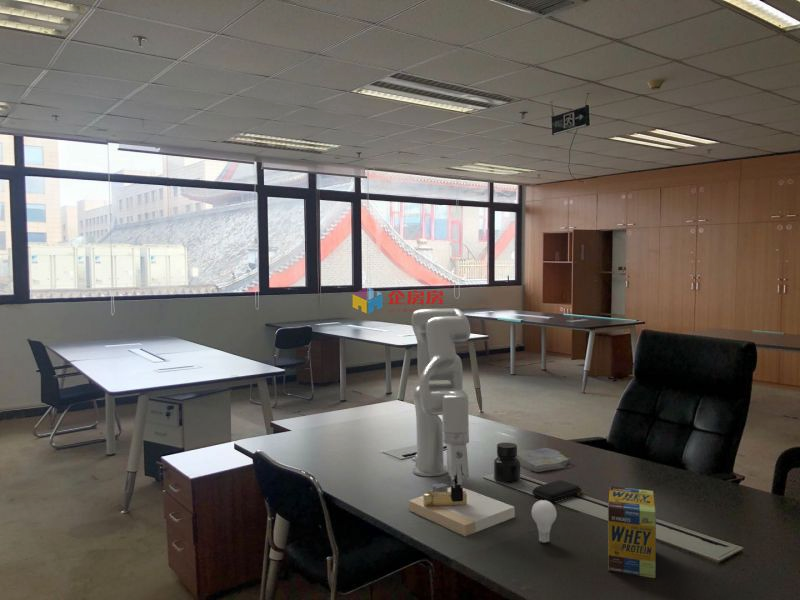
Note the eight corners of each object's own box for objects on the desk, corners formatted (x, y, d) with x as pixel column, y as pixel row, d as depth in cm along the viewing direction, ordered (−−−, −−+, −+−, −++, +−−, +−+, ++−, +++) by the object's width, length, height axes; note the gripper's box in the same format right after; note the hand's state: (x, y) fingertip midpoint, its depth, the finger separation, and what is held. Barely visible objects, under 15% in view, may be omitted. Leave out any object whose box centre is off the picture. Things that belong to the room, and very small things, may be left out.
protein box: (607, 571, 140) (607, 506, 140) (609, 544, 155) (609, 485, 154) (656, 579, 136) (656, 512, 136) (653, 550, 151) (653, 489, 150)
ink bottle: (524, 477, 207) (524, 443, 207) (518, 485, 199) (517, 450, 199) (496, 474, 211) (496, 440, 211) (489, 481, 203) (489, 447, 203)
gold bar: (423, 506, 173) (423, 496, 173) (422, 502, 177) (422, 492, 176) (467, 504, 174) (466, 494, 174) (465, 500, 177) (465, 490, 177)
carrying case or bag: (555, 506, 181) (587, 496, 190) (555, 496, 181) (587, 486, 190) (529, 496, 190) (560, 486, 199) (529, 487, 190) (560, 477, 198)
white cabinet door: (408, 510, 179) (408, 488, 179) (456, 494, 192) (456, 474, 192) (465, 536, 161) (464, 512, 160) (514, 517, 173) (514, 494, 173)
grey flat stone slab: (579, 468, 220) (548, 453, 236) (579, 456, 220) (548, 442, 235) (535, 478, 212) (506, 462, 227) (535, 466, 211) (506, 450, 227)
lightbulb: (528, 537, 159) (528, 496, 159) (551, 536, 160) (551, 495, 159) (536, 548, 153) (535, 505, 152) (560, 547, 153) (559, 504, 153)
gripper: (473, 442, 165) (475, 508, 165) (464, 430, 180) (465, 491, 180) (446, 443, 165) (448, 510, 165) (439, 431, 180) (440, 492, 180)
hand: (457, 500), depth 173 cm, fingers closed
